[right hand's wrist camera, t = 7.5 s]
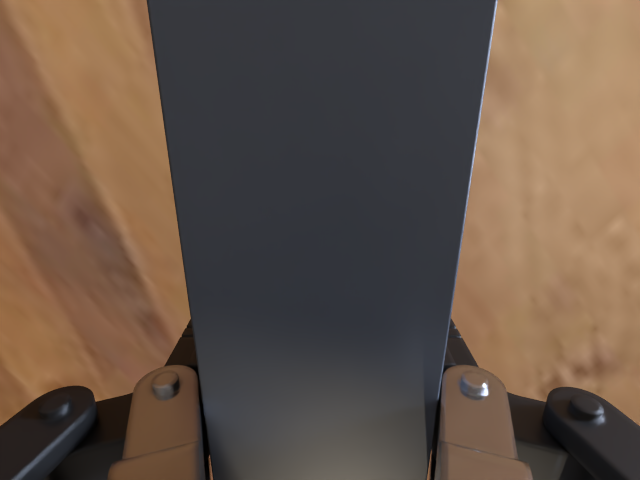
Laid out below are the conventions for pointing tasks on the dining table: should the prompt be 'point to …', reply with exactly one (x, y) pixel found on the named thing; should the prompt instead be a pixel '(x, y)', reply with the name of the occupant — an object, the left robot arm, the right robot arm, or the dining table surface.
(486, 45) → the bar
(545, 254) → the dining table surface
